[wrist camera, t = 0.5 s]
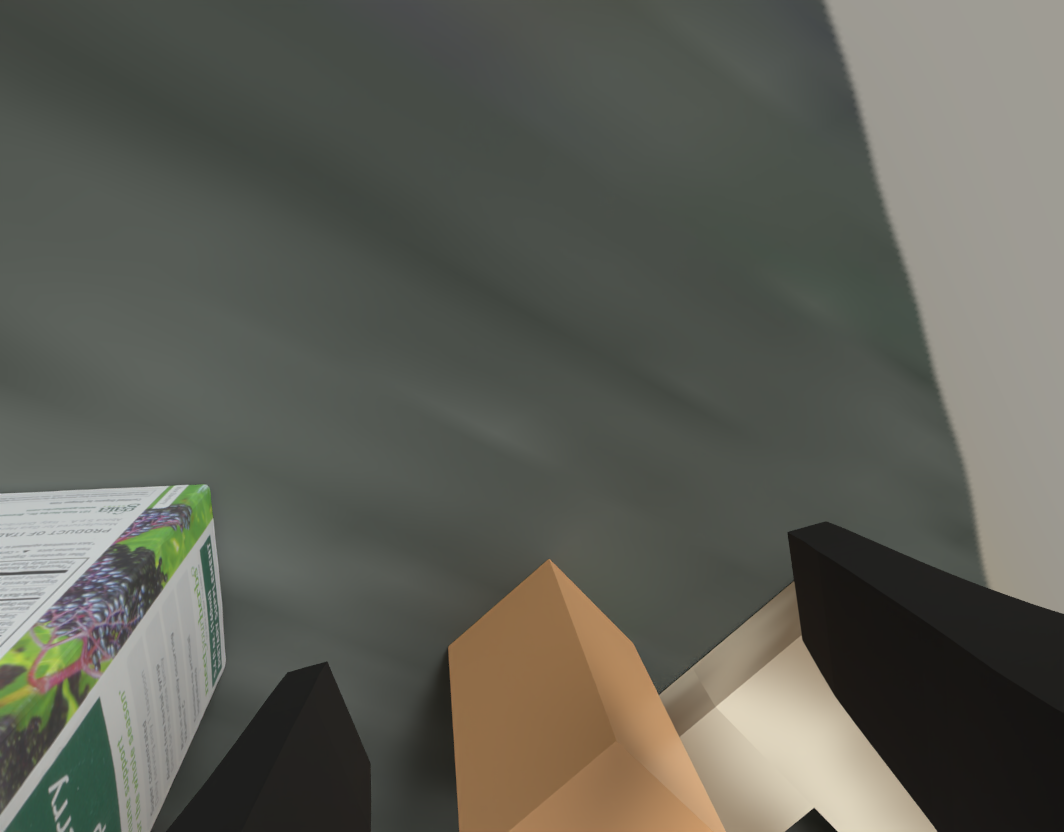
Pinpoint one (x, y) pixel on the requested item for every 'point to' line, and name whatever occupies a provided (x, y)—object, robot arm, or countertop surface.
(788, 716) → the holder plate
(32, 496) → the syrup box
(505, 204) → the countertop surface
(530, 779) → the orange rectangular block
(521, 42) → the countertop surface
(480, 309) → the countertop surface
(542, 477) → the countertop surface
